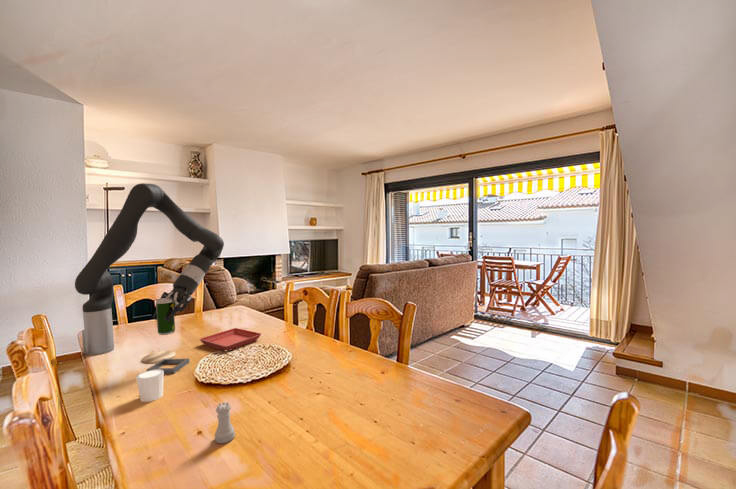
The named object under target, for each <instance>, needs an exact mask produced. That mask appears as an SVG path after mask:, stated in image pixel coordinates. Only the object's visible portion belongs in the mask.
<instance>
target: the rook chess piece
mask: <svg viewBox="0 0 736 489" xmlns="http://www.w3.org/2000/svg"><path fill="white" fill-rule="evenodd" d="M231 408H232V407H231V405H230V403H229V402H227V401H226V402H225V401H223V402H222V403H218V405H217V406H216V409H215V412H216V413H217V420H218V421H217V427H216V430H215V432H214V441H215V443H217V444H227V443H229V442H231V441H233V439H234V438H235V436H236V433H235V428H234V426H233V425H232V422H231V412H230V410H231Z"/></svg>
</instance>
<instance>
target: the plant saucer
mask: <svg viewBox="0 0 736 489" xmlns="http://www.w3.org/2000/svg"><path fill="white" fill-rule="evenodd" d="M261 335H262V333H261V332H256V331H251V330H246V329H243V328H237V327H235V328H234V327H233V328H230V329H228V330H224V331H221V332H217V333H214V334H211V335H207V336H205V337H200V338H199V341H200V342H201V343H202V344H204V345H205V346H206V347H207V346H208V347H210V348H214V349H218V350H221V351H224V350H229V351H231V350H230V349H232V350H234V349H233V348H235V349H237V348H239V347H243V346H245V345H248V344H251V343H254V342H256V341H257V340H258V339H259V338H260V337H261ZM236 347H237V348H236Z"/></svg>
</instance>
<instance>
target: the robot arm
mask: <svg viewBox="0 0 736 489" xmlns="http://www.w3.org/2000/svg"><path fill="white" fill-rule="evenodd" d="M148 208H154V209H156V210H157V211H160V212H161V213H162V214H163V215H165V217H167V218H168V219H169V220H170V222H171V223H172V225H173V226H174V227H175V229H176V230H177V231H178V232H180V233H181V234H182V235H183V236H185V237H186V238H187V239H189V240H190V241H192V242H194V243H197V242H198V243H200V244H201V245H203V247H202V248H201V250H200V252H199V253H198V254H196V255H195V256H194V257H193V258H192V259H191V260H190V262H189V263H188V264H187V265H186V267H185V268H184V269H183V270H182V271H181V273H180V275H178V277H177V278H176V279H175V281H174V282H173V283H172V287H173V288H172V290H171V291H170V292H166V291H164V292H163V293H162V294H161V296H160V297H159V299H161V298H173V305H172V308H171V309H172V310H169V312H168V313H167V315H166V316H165V317H164V320H166V321H167V322H170V321H171V319H172V318H173V317H175V315H176V314H178V313H179V312H180V313H181V312H184V310H186V308H187V307H188V306H189V304H190V303H191V302H192V301H193V300H194V297H193V296H192V295H193V294H194V293H195V291H196V290H197V288H198V287H199V286H200V284H201V282H202V281H203V279H204V277H205V276H206V274H207V273H208V271H209V270H210V269H211V267H212V265H213V264H214V263H215V262H216V261H217V260H218V258H219V257H220V255H221V254H222V252H223V249H224V247H225V243H224V240H223V238H222V237H221V236H220V235H219V234H218V233H215V232H213V231H212V230H210V229H207V228H205V227H204V226H203V225H201V224H200V223H199V222H198V221H196V220H195V219H194V218H193V217H191V216H190V215H189V214H188V213H187V212H185V211H184V210H183V209H182V208H181V207H180V206H179V205H178V204H177V203H175V201H174V200H173V199H171V197H170V196H169V195H168V194H167V193H166V191H164V190H163V189H162V187H160V186H159V185H156V184H153V183H143V182H142V183H138V184H135V185H134V186H133V187H132V188H131V189H130V191H129V193H128V195H127V197H126V199H125V201H124V204H123V206H122V208H121V210H120V211H119V213H118V214H117V217H116V218H115V220H114V221H113V223H112V225H111V226H110V227H109V230H108V231H107V233H105V236H103V237H104V238H103V239H102V241H101V242H100V244H99V246H98V247H97V249H96V250H95V251H94V253H93V255H92V257H91V258H90V259H89V261H88V262H87V263H86V265H85V266H84V267H83V268H82V270H80V272H79V273H78V275H77V276H76V278H75V280H74V288H75V291H76V292H77V294H78V293H79V294H80V295H83V296H84V295H86V296H87V295H90V297H89V299H88V300H87V301H86V302H84V303H83V304H82V318H83V329H82V331H81V336H82V337H81V338H82V352H83V354H84V355H87V356H95V354H97V355H102V354H106V353H109V352H111V351H113V350H115V339H114V324H113V314H112V312H113V310H112V304H113V300H114V282H113V277H112V275H111V273H110V272H109V271H108V268H110V267H111V266H112V265H113V264H114V263H116V262H117V261H119V259H121V258H122V257H123V256H124V255H125V254H126V253H127V252H128V251H129V250H130V248H131V246H132V245H133V244H134V242H135V240H136V238H137V235H138V224H139V222H140V219H141V218H142V217H143V215H144V214H145V212H147V210H148ZM152 318H153V319H154V320H156V321H157V314H156V312H154V314H153V315H152Z"/></svg>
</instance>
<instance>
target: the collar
mask: <svg viewBox="0 0 736 489" xmlns="http://www.w3.org/2000/svg"><path fill="white" fill-rule="evenodd" d="M188 364H190V358H172V359H163V360H161V361H160V362H158V363H154V364H152V365H151V366H150V367H149V368H146V371H149V370H155V369H161V370H163V371H164V375H165V374H166V375H167V374H173V375H174V374H175V373H177V372H178V371H180V370H181V369H183V368H184V367H185V366H186V365H188ZM165 365H175V366H173V367H170V368H169V367H163V368H162V366H165Z"/></svg>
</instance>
